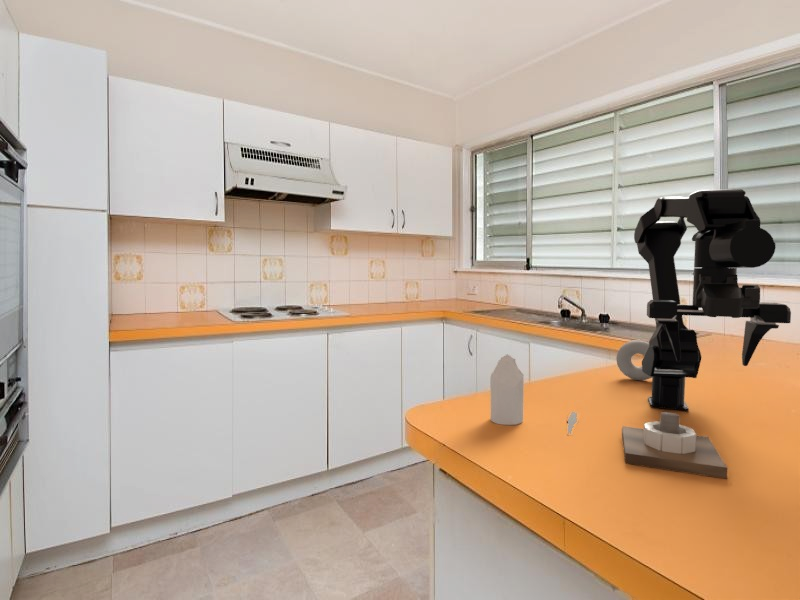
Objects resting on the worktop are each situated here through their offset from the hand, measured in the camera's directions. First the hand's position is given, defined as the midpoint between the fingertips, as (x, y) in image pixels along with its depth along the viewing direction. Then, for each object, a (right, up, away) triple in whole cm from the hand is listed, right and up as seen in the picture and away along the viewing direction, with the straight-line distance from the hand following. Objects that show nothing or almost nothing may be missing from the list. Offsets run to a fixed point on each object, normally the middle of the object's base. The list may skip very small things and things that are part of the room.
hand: (710, 363), depth 75 cm
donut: (+8, -10, +38) cm, 40 cm away
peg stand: (-11, -13, -7) cm, 18 cm away
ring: (-11, -11, -7) cm, 17 cm away
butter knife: (-23, -13, 0) cm, 26 cm away
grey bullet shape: (-32, -12, +8) cm, 35 cm away
